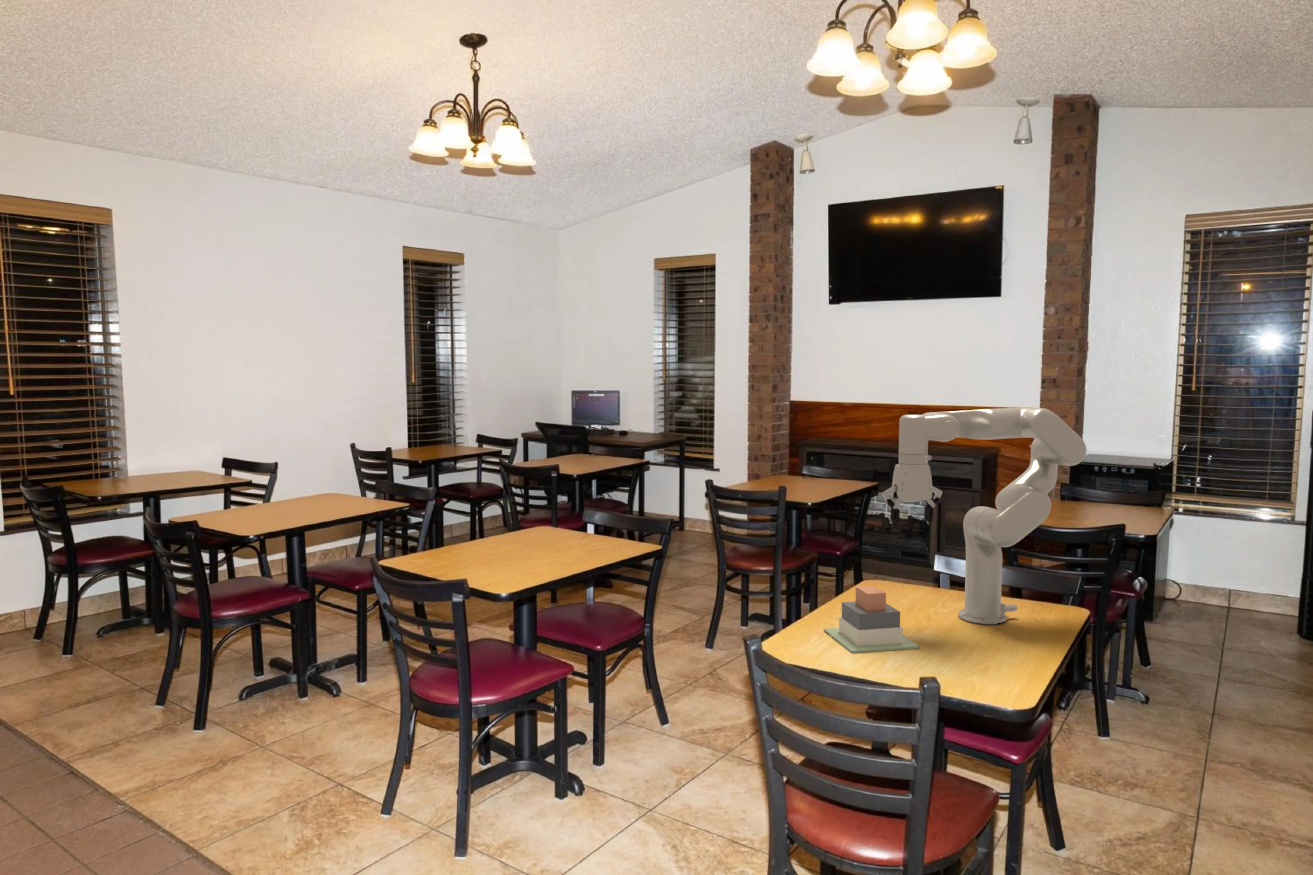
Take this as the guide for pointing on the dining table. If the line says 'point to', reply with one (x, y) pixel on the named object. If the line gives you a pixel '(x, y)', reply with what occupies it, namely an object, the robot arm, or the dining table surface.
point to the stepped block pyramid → (870, 630)
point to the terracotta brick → (870, 598)
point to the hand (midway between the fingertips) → (911, 521)
